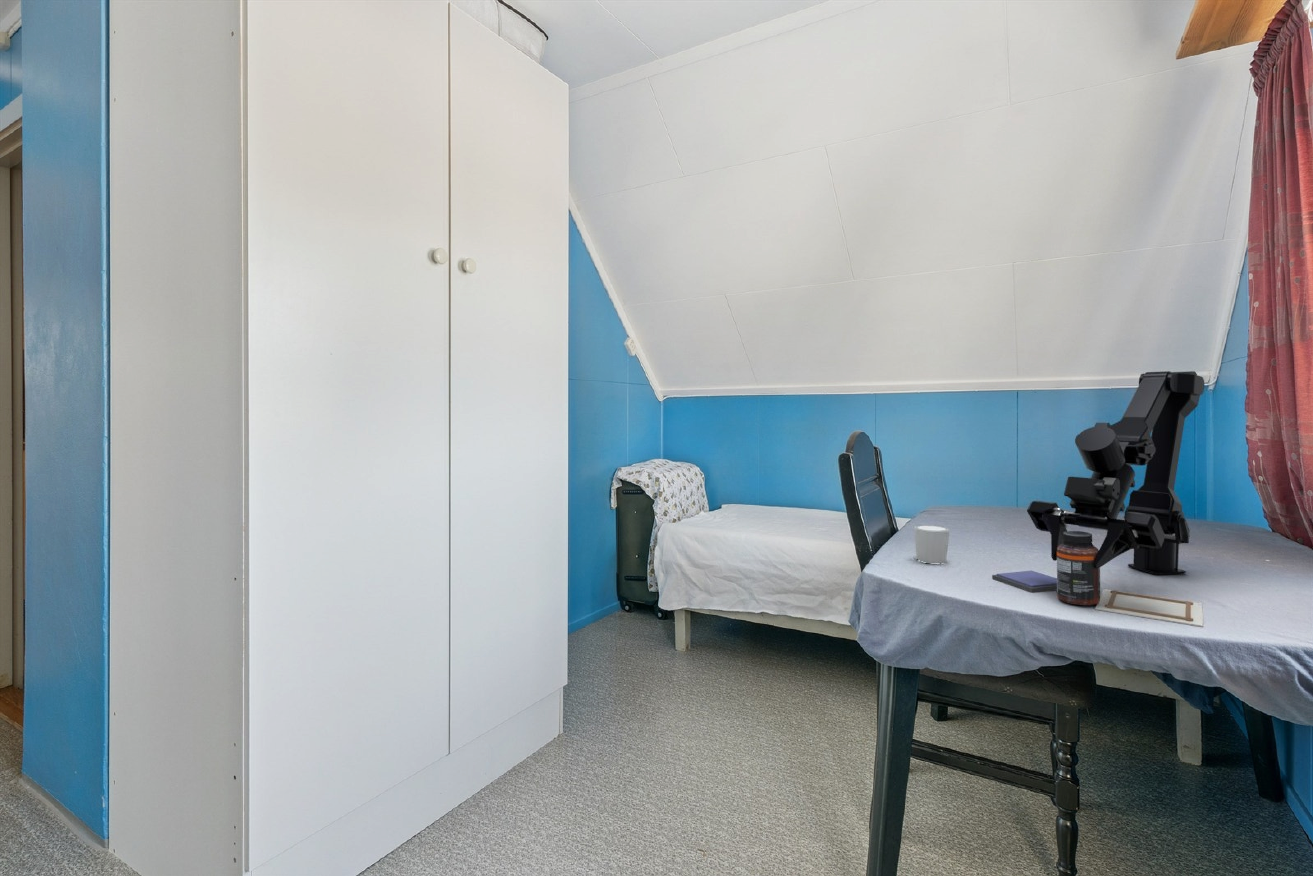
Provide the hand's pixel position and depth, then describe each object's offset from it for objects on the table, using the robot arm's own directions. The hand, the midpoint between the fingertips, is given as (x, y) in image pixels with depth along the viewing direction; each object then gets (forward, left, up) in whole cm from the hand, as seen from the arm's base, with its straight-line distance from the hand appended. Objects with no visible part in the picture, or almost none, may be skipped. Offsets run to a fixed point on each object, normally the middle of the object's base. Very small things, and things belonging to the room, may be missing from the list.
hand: (1073, 563), depth 104 cm
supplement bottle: (-1, -1, -7) cm, 7 cm away
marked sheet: (-10, +3, -7) cm, 13 cm away
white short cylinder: (+8, -30, -7) cm, 31 cm away
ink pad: (-1, -12, -7) cm, 13 cm away
